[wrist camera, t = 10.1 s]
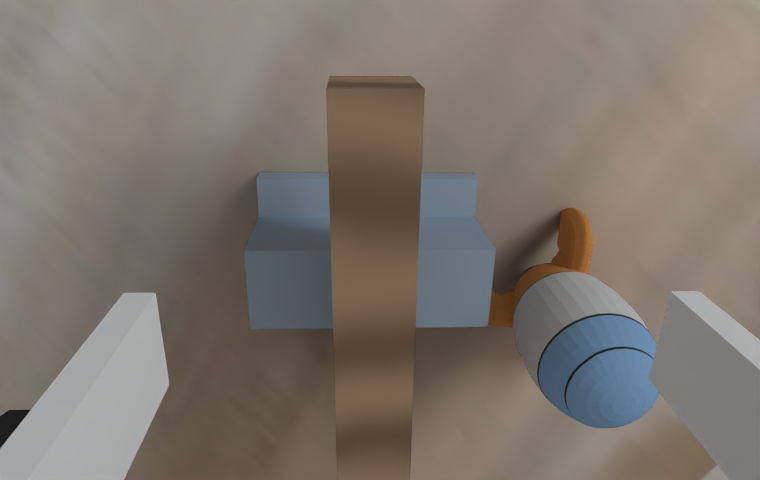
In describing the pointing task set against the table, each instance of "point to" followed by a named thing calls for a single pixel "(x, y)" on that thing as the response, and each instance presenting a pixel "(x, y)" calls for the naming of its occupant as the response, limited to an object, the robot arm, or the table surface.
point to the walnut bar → (374, 268)
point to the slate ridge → (313, 254)
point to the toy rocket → (579, 335)
